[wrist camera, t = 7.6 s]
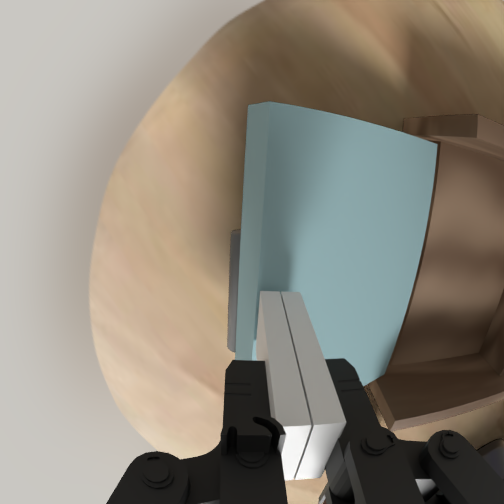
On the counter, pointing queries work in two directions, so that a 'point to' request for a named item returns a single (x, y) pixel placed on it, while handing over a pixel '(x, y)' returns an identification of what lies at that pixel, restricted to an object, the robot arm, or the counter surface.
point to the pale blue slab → (330, 229)
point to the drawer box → (453, 282)
